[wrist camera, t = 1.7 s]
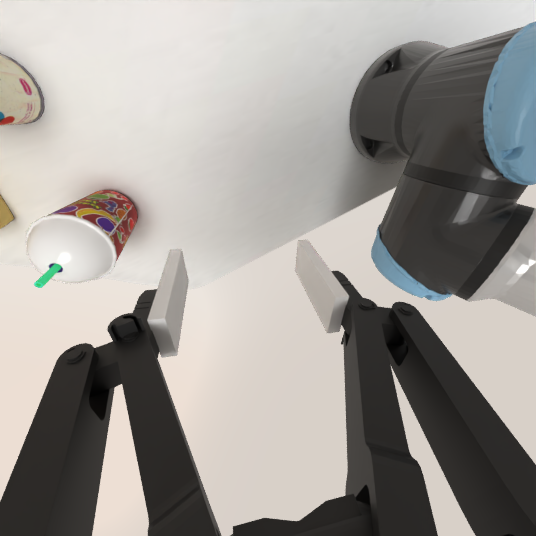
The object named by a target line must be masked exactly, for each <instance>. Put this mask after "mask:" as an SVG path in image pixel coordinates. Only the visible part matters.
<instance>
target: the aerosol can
mask: <svg viewBox="0 0 536 536" xmlns="http://www.w3.org/2000/svg"><path fill="white" fill-rule="evenodd" d="M43 111H44V98H43V95H42V92H41V89H40V87H39V86H38V84H37V82H36V81H35V79H34V78H33V77H32V75H31V74H30V73H29V72H28V71H27V70H26V69H25V68H24V67H23V66H21V65H20V64H19V63H17V62H16V61H15V60H13V59H12V58H9V57H7V56H5V55H3V54H1V53H0V125H12V124H27V123H31V122H35V121H36V120H38V119H39V118H40V117H41V116H42V113H43Z"/></svg>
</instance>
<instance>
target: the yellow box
mask: <svg viewBox="0 0 536 536" xmlns="http://www.w3.org/2000/svg"><path fill="white" fill-rule="evenodd" d="M13 219H14V217H13V215H12V213H11V212H10V210H9V208H8V207H7V205H6V203H5V202H4V200H3V199H2V197H1V196H0V229H1V228H2V227H4V226H5V225H7V224H8V223H10V222H11V221H12V220H13Z"/></svg>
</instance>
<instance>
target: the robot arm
mask: <svg viewBox="0 0 536 536" xmlns="http://www.w3.org/2000/svg"><path fill="white" fill-rule="evenodd" d="M350 130H351V135H352V139H353V142H354V144H355V146H356V148H357V149H358V151H359V152H360V153H361V154H362V155H363V156H365V157H366V158H368V159H370V160H373V161H376V162H380V163H397V162H401V161H405V160H408V162H407V165H406V167H405V170H404V172H403V174H402V176H401V178H400V181H399V183H398V186H397V188H396V190H395V193H394V195H393V197H392V200H391V202H390V205H389V207H388V209H387V211H386V214H385V216H384V218H383V221H382V223H381V224H380V225H379V227H378V229H377V235H376V239H375V241H374V244H373V247H372V251H371V256H372V259H373V262H374V263H375V265H376V267H377V269H378V270H379V271H380V273H381V274H382V275H383V276H385V277H386V278H387V279H388V280H389V281H390V282H392V283H393V284H394V285H396V286H397V287H399V288H401V289H402V290H404V291H406V292H408V293H410V294H412V295H414V296H418V297H420V298H423V297H425V298H427V299H428V300H433V301H439V300H444V299H446V298H448V297H450V296H451V295H452V294H454V295H456V296H458V297H460V298H463V299H465V300H467V301H477V300H483V299H497V300H499V301H501V302H504V303H506V304H508V305H511V306H513V307H515V308H517V309H520V310H522V311H524V312H527V313H529V314H531V315H533V316H536V209H535V208H532V207H528V206H524V205H520V204H517V203H516V202H517V200H518V199H519V197H520V196H521V194H522V193H523V192H524V190H525V189H526V187H527V186H528V185H533V184H536V22H533V23H530V24H528V25H526V26H525V27H521V28H518V29H514V30H511V31H507V32H504V33H501V34H497V35H494V36H490V37H487V38H483V39H480V40H476V41H473V42H469V43H466V44H462V45H459V46H456V47H452V48H447V47H444V46H440V45H437V44H434V43H430V42H426V41H415V42H410V43H406V44H404V45H401V46H398V47H395V48H393V49H391V50H389V51H388V52H386V53H385V54H383V55H382V56H381V57H380V58H378V59H377V60H376V61H375V62H374V63H373V65H372V66H371V67H370V68H369V69H368V71H367V72H366V74H365V75H364V77H363V78H362V80H361V82H360V84H359V86H358V88H357V90H356V93H355V96H354V99H353V102H352V107H351V113H350ZM295 271H296V273H297V275H298V277H299V279H300V281H301V283H302V285H303V287H304V289H305V291H306V292H307V295H308V297H309V299H310V301H311V302H312V304H313V306H314V308H315V310H316V312H317V314H318V316H319V318H320V320H321V322H322V324H323V326H324V328H325V330H326V332H327V333H333V332H339V331H340V327H341V325H342V326H343V328H344V330H345V331H344V335H343V338H342V342H341V344H343V342H344V367H345V368H344V369H345V397H346V398H345V399H346V429H347V459H348V474H347V481H346V496H343V497H339V498H336V499H332V500H328V501H325V502H324V503H323V504H321V505H320V506H319V507H318V508H316V509H315V510H313V511H312V512H311V513H309V514H308V515H307V516H305V517H304V518H303V519H301V520H300V521H287V520H279V519H269V518H262V519H259V520H255V521H252V522H248V523H244V524H241V525H237V526H233V534H232V535H231V536H438V535H437V531H436V526H435V522H434V518H433V514H432V510H431V506H430V502H429V497H428V493H427V489H426V485H425V481H424V477H423V474H422V471H421V467H420V466H419V464H418V462H417V461H416V460H415V459H414V458H413V457H412V456H411V454H410V452H409V449H408V444H407V439H406V435H405V431H404V426H403V421H402V416H401V412H400V407H399V403H398V398H397V393H396V389H395V384H394V380H393V375H392V370H391V366H392V368H393V371H394V373H395V375H396V377H397V379H398V381H399V383H400V385H401V387H402V389H403V391H404V393H405V395H406V397H407V399H408V401H409V403H410V405H411V407H412V409H413V411H414V413H415V416H416V418H417V420H418V422H419V424H420V426H421V428H422V430H423V432H424V434H425V436H426V438H427V440H428V442H429V444H430V446H431V448H432V450H433V452H434V455H435V456H436V459H437V460H438V463H439V465H440V466H441V469H442V471H443V473H444V475H445V477H446V479H447V481H448V483H449V485H450V487H451V489H452V491H453V493H454V495H455V497H456V500H457V502H458V503H459V506H460V508H461V510H462V511H463V513H464V515H465V517H466V519H467V521H468V523H469V524H470V526H471V528H472V530H473V532H474V533H475V535H476V536H536V465H535V463H534V462H533V461H532V459H531V458H530V457H529V455H528V454H527V453H526V452H525V450H524V449H523V448H522V446H521V445H520V444H519V442H518V441H517V440H516V438H515V437H514V436H513V434H512V433H511V432H510V431H509V429H508V428H507V427H506V425H505V424H504V423H503V421H502V420H501V419H500V417H499V416H498V415H497V413H496V412H495V411H494V410H493V408H492V407H491V406H490V404H489V403H488V402H487V400H486V399H485V398H484V397H483V395H482V394H481V393H480V391H479V390H478V389H477V387H476V386H475V385H474V383H473V382H472V381H471V379H470V378H469V377H468V375H467V374H466V373H465V372H464V370H463V369H462V368H461V366H460V365H459V364H458V362H457V361H456V360H455V358H454V357H453V356H452V354H451V353H450V352H449V351H448V349H447V348H446V347H445V345H444V344H443V343H442V341H441V340H440V339H439V338H438V336H437V335H436V333H435V332H434V331H433V329H432V328H431V327H430V326H429V324H428V323H427V322H426V321H425V319H424V318H423V316H422V315H421V314H420V312H419V311H418V310H417V309H416V308H415V307H414V306H412V305H410V304H407V303H404V302H396V303H394V304H393V306H392V308H384V307H377V305H376V304H375V303H374V302H373V301H371V300H369V299H366V298H362V296H361V295H360V294H359V293H358V292H357V290H356V289H355V288H354V286H353V285H351V283H350V281H348V279H347V278H346V277H345V275H343V274H342V273H341V272H339V271H330V270H329V268H328V267H327V265H326V264H325V262H324V261H323V260H322V258H321V257H320V256H319V254H318V253H317V252H316V250H315V249H314V248H313V246H312V245H311V243H310V242H309V241H308V240H299V241H298V247H297V257H296V269H295ZM187 288H188V276H187V271H186V267H185V262H184V258H183V253H182V249H177V250H170V252H169V255H168V258H167V261H166V264H165V267H164V270H163V273H162V276H161V279H160V283H159V286H158V289H155V290H146V291H144V293H142V294H141V296H140V297H139V299H138V301H137V305H136V306H135V310H134V311H133V313H128V314H124V315H121V316H119V317H117V318H116V319H114V320H113V321H112V322H111V323H110V325H109V326H108V332H109V334H110V336H111V338H112V340H113V342H110V343H108V344H105V345H103V346H100V347H97V348H94V347H93V346H92V345H91V344H87V343H85V344H79V345H76V346H73V347H71V348H70V349H68V350H66V351H65V352H64V353H63V354H62V355H61V356H60V357H59V358H58V360H57V362H56V365H55V367H54V369H53V372H52V374H51V377H50V379H49V382H48V384H47V387H46V389H45V392H44V394H43V397H42V399H41V402H40V404H39V407H38V409H37V412H36V414H35V417H34V419H33V422H32V424H31V427H30V429H29V432H28V434H27V436H26V439H25V442H24V444H23V447H22V449H21V451H20V454H19V456H18V459H17V462H16V464H15V466H14V469H13V471H12V474H11V476H10V479H9V481H8V484H7V486H6V489H5V491H4V494H3V496H2V499H1V501H0V536H92V530H93V525H94V518H95V512H96V505H97V498H98V492H99V485H100V479H101V472H102V465H103V459H104V453H105V446H106V439H107V433H108V427H109V420H110V414H111V407H112V400H113V394H114V388H115V387H116V386H118V385H120V384H122V385H123V390H124V395H125V399H126V405H127V410H128V415H129V420H130V425H131V430H132V436H133V440H134V446H135V451H136V456H137V461H138V466H139V471H140V476H141V481H142V486H143V491H144V496H145V501H146V507H147V512H148V517H149V528H148V536H221V533H220V531H219V528H218V525H217V522H216V520H215V517H214V514H213V512H212V509H211V506H210V504H209V501H208V498H207V495H206V493H205V490H204V487H203V484H202V482H201V479H200V476H199V473H198V471H197V468H196V465H195V462H194V460H193V456H192V454H191V451H190V448H189V445H188V443H187V440H186V437H185V434H184V431H183V429H182V426H181V423H180V420H179V418H178V415H177V412H176V409H175V406H174V403H173V401H172V398H171V395H170V392H169V390H168V387H167V384H166V381H165V378H164V376H163V373H162V370H161V367H160V364H159V362H158V359H157V358H158V354H159V352H160V355H161V357H169V356H176V355H177V352H178V345H179V339H180V333H181V326H182V320H183V313H184V307H185V301H186V294H187ZM390 364H391V366H390Z"/></svg>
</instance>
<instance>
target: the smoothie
mask: <svg viewBox="0 0 536 536" xmlns="http://www.w3.org/2000/svg"><path fill="white" fill-rule="evenodd" d="M136 222H137V211H136V209H135V207H134V205H133V204H132V202H131V201H130V200H129V199H128V198H127V197H125V196H123V195H122V194H120V193H117V192H114V191H110V190H102V191H97V192H95V193H93V194H91V195H89V196H87V197H85V198H83V199H80V200H78V201H76V202H74V203H72V204H70V205H68V206H66V207H64V208H62V209H60V210H58V211H55V212H53V213H51V214H49V215H47V216H44V217H41V218H40V219H38V220H36V221H35V222H33V223H32V224H31V225H30V227H29V229H28V230H27V232H26V245H27V248H26V252H27V255H28V258H29V260H30V262H31V264H32V265H33V266H34V267H35V268H36V269H37V271H38V272H40V273H41V274H43V276H42V277H40V278H39V280H37V281H36V282H35V283H34V285H35V286H36V287H38V288H41V287H43V286H44V285H45V284H46V283H47V282H48V281H49V280H50V279H52V280H55V281H59V282H64V283H82V282H87V281H91V280H95V279H100V278H102V277H104V276H105V275H107V274H109V273H110V272H111V270H112V269H113V268H114V267H115V263H116V261H117V259H118V257H119V255H120V253H121V251H122V250H123V248H124V246H125V244H126V242H127V240H128V238H129V236H130V234H131V232H132V230H133V228H134V226H135V224H136Z"/></svg>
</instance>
